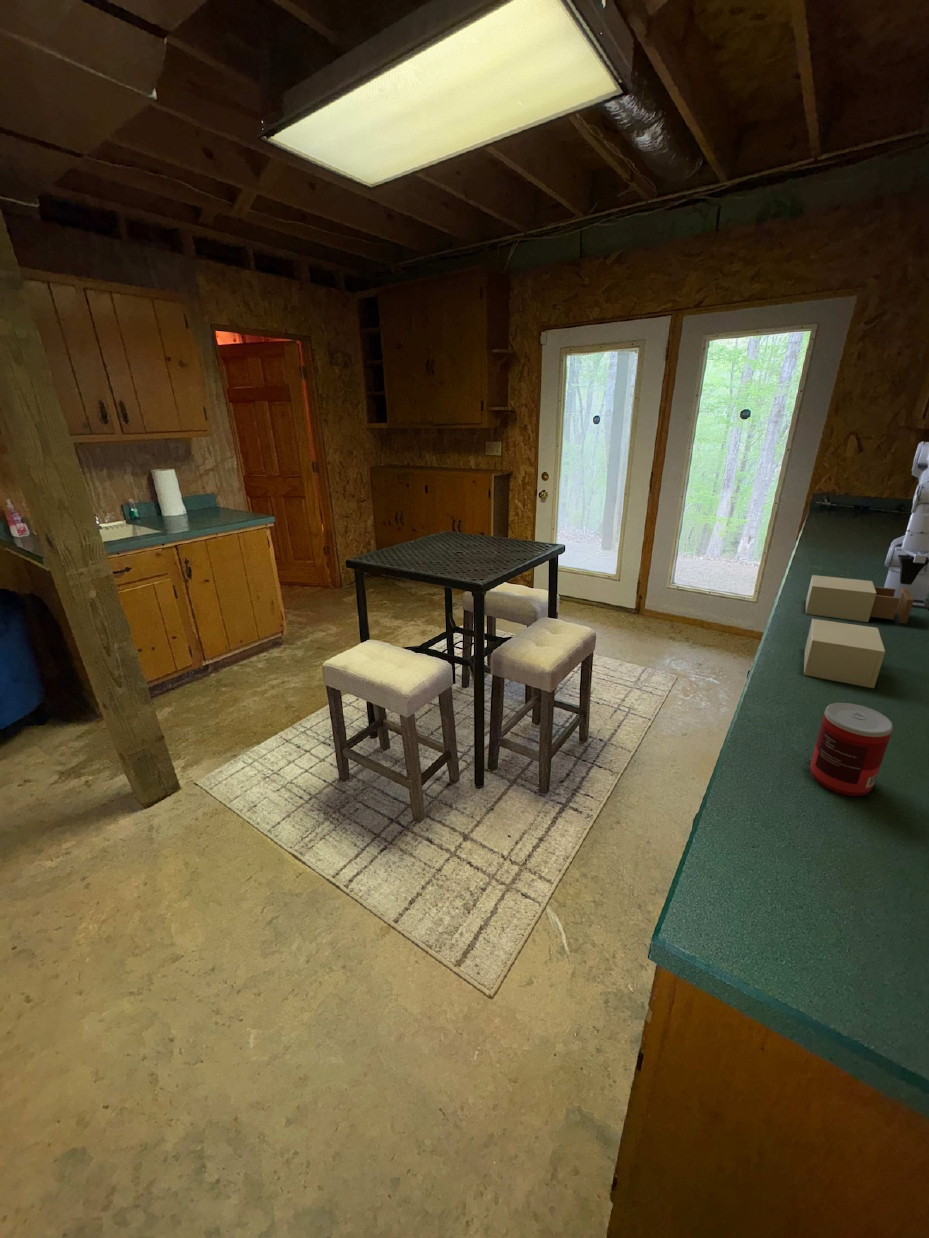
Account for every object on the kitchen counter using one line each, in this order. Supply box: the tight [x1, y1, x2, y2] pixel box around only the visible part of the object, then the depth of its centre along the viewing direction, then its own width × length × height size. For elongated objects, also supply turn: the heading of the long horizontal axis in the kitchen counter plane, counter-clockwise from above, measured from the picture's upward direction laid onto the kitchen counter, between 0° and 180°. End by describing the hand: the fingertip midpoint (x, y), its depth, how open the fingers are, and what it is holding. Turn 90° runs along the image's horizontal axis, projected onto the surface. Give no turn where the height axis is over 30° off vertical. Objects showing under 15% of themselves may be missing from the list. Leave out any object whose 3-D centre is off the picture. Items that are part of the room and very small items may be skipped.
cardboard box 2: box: [803, 618, 886, 689], centre depth 103 cm, size 14×12×8 cm
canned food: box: [809, 702, 893, 797], centre depth 70 cm, size 8×8×11 cm
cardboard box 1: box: [805, 574, 876, 623], centre depth 133 cm, size 14×12×8 cm
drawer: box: [870, 586, 929, 624], centre depth 127 cm, size 17×10×6 cm, turn 56°
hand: (905, 583), depth 125 cm, fingers closed
